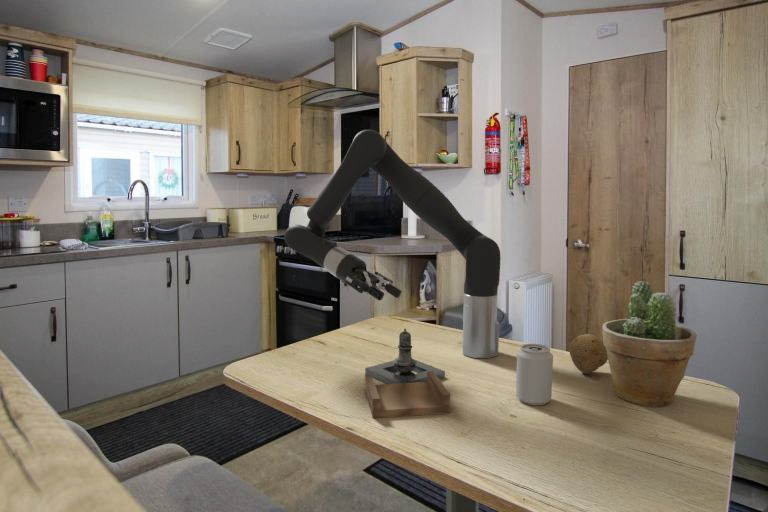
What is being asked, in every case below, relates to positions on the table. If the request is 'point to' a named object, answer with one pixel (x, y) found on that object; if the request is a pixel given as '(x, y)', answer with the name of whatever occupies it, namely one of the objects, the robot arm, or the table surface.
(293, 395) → the table surface
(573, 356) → the natural sponge
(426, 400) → the brown piece
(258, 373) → the table surface
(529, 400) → the can
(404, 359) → the salt shaker
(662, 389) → the potted plant
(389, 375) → the socket frame
